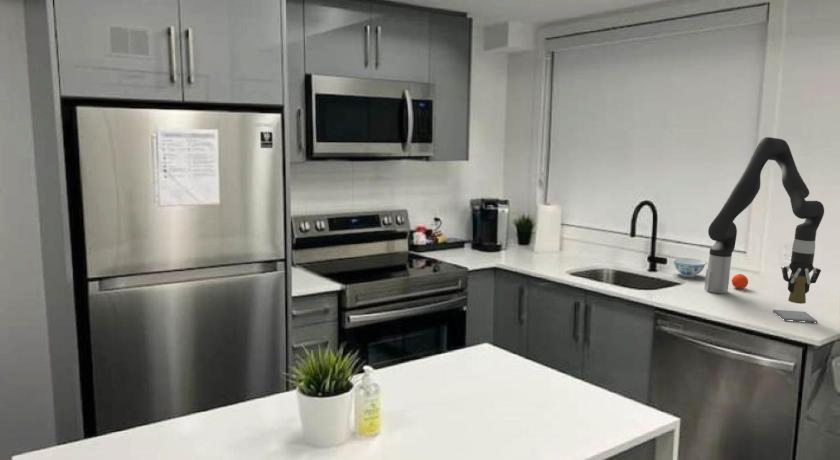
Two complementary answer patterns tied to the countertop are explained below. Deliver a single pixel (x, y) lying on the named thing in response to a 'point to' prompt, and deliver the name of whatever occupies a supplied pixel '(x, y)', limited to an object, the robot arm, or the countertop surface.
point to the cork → (798, 290)
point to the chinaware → (688, 266)
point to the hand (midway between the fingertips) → (797, 292)
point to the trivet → (794, 315)
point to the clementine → (739, 281)
